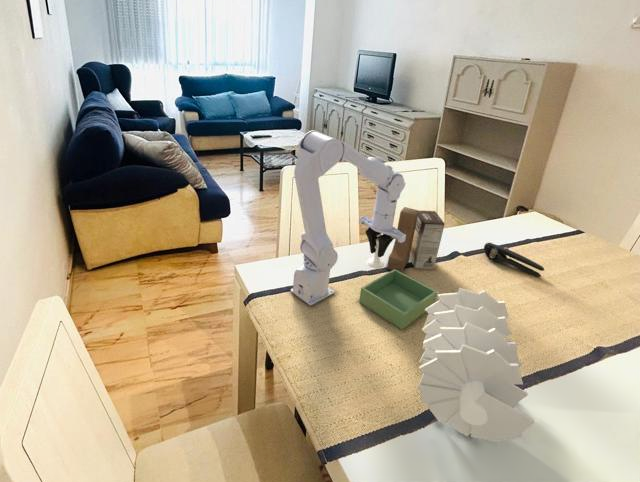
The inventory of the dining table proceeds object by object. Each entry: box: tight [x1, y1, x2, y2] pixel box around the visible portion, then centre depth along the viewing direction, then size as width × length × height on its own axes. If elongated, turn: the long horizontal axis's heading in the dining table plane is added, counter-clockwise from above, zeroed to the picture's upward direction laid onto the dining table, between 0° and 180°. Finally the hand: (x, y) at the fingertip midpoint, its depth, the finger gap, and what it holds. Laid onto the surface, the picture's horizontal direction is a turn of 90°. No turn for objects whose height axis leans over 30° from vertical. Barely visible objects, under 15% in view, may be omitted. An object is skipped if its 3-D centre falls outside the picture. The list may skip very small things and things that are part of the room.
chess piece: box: [366, 233, 385, 270], centre depth 111 cm, size 5×5×10 cm
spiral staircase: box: [416, 287, 536, 443], centre depth 74 cm, size 18×18×25 cm
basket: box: [358, 269, 438, 330], centre depth 102 cm, size 15×13×4 cm
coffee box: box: [409, 209, 446, 270], centre depth 120 cm, size 9×6×16 cm
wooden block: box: [386, 206, 420, 273], centre depth 117 cm, size 9×4×18 cm, turn 148°
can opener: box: [483, 242, 545, 278], centre depth 123 cm, size 18×7×6 cm, turn 41°
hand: (377, 254), depth 112 cm, fingers closed on chess piece
